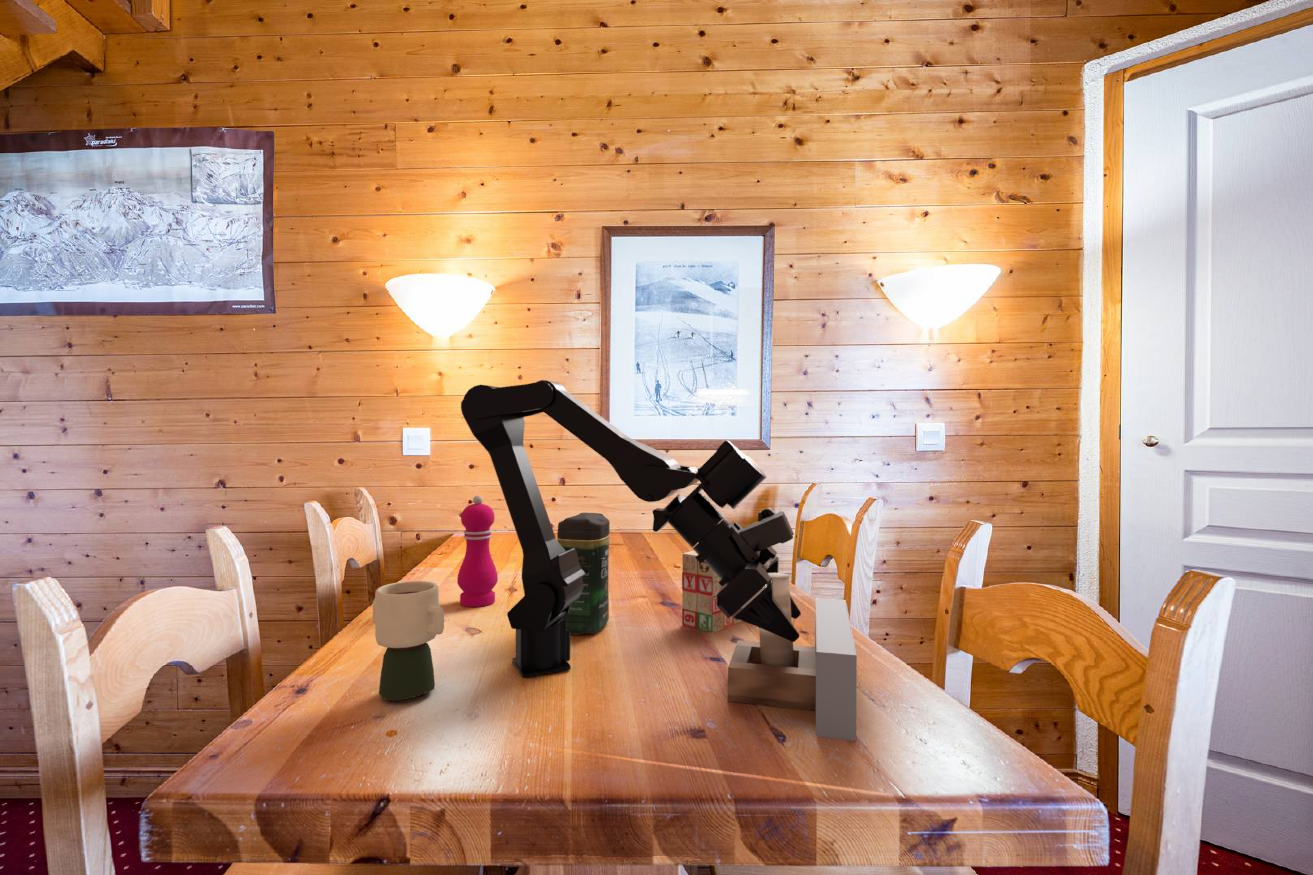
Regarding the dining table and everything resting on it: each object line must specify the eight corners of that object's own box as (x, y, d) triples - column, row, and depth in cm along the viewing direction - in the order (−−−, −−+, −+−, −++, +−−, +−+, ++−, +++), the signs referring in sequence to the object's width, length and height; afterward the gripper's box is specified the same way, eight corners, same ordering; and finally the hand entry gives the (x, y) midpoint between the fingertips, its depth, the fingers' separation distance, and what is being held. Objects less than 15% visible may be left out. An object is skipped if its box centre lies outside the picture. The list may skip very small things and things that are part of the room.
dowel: (789, 689, 74) (782, 580, 75) (757, 685, 76) (751, 578, 77) (799, 678, 78) (793, 573, 78) (768, 674, 80) (762, 572, 80)
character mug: (463, 691, 76) (463, 585, 76) (419, 715, 70) (420, 599, 70) (396, 676, 81) (396, 576, 81) (349, 698, 74) (350, 589, 74)
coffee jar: (598, 638, 97) (598, 518, 96) (549, 634, 98) (550, 516, 98) (614, 619, 106) (615, 510, 106) (570, 616, 108) (570, 509, 107)
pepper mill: (482, 595, 121) (482, 492, 121) (505, 602, 117) (506, 495, 117) (449, 603, 116) (449, 495, 116) (472, 610, 111) (472, 498, 111)
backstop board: (815, 737, 65) (816, 651, 65) (815, 662, 87) (815, 597, 87) (856, 742, 64) (856, 655, 64) (845, 665, 86) (845, 599, 86)
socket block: (727, 701, 74) (728, 667, 73) (737, 670, 83) (737, 640, 83) (815, 710, 71) (815, 675, 71) (815, 677, 81) (815, 646, 81)
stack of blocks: (749, 600, 120) (749, 535, 119) (778, 606, 116) (778, 539, 115) (681, 626, 103) (681, 551, 103) (712, 634, 99) (713, 556, 99)
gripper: (747, 496, 69) (851, 604, 66) (760, 483, 87) (843, 567, 84) (676, 564, 70) (775, 671, 68) (704, 537, 89) (782, 621, 86)
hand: (797, 627), depth 76 cm, fingers open, 9 cm apart
